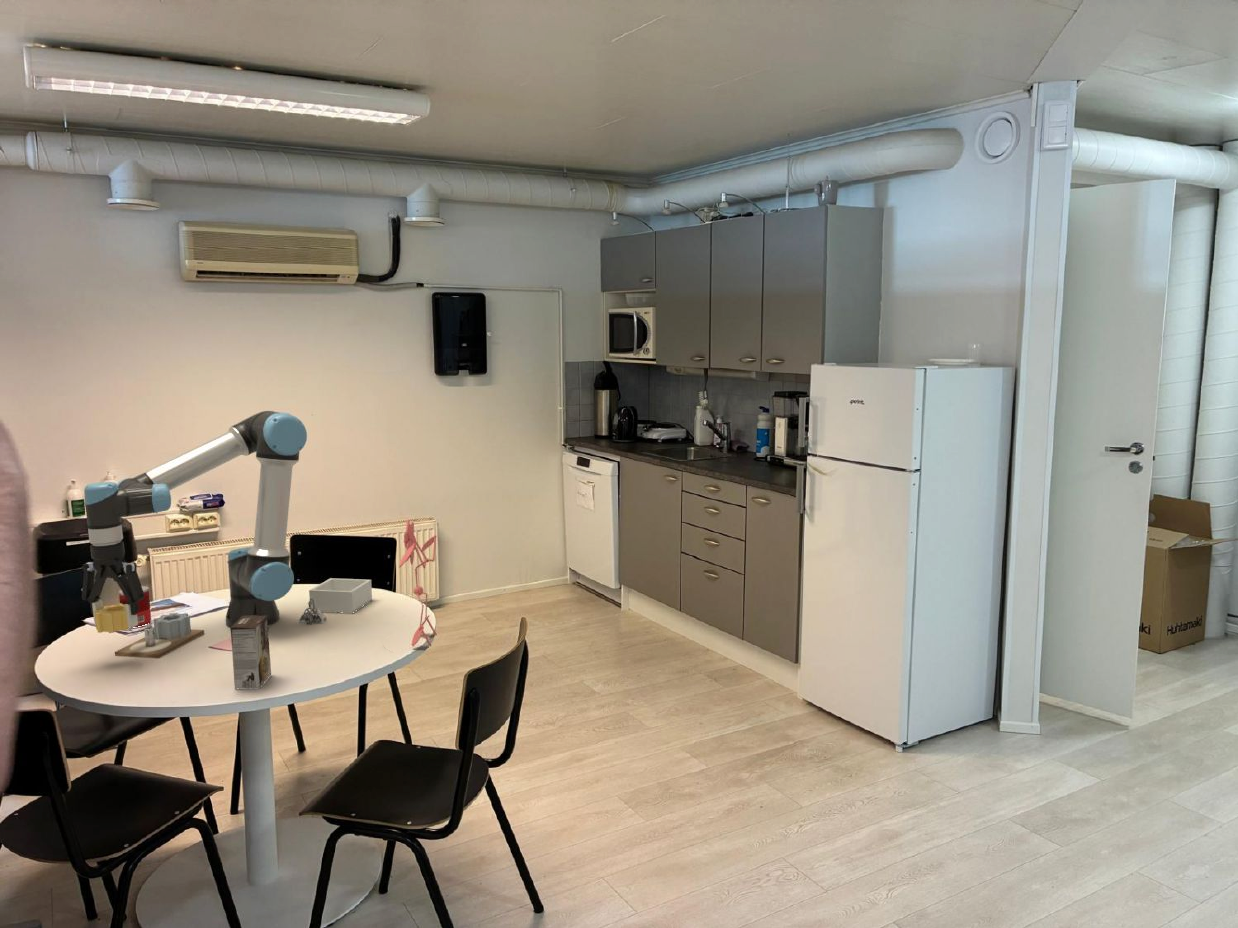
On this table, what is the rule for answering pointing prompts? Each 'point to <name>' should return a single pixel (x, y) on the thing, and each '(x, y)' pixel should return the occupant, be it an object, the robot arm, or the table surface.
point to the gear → (172, 626)
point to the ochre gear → (111, 618)
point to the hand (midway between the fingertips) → (116, 625)
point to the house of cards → (309, 616)
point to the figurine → (418, 590)
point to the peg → (149, 636)
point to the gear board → (157, 646)
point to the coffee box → (250, 651)
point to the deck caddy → (341, 595)
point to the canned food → (140, 607)
